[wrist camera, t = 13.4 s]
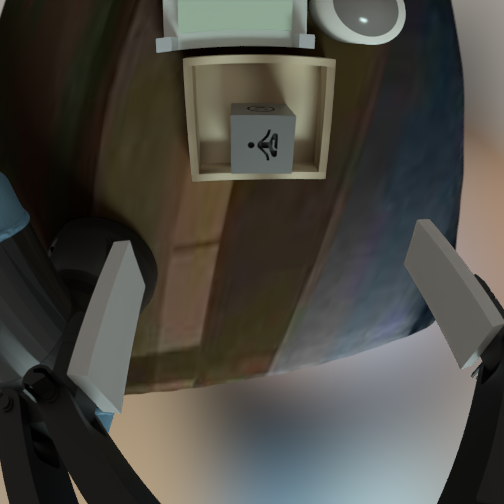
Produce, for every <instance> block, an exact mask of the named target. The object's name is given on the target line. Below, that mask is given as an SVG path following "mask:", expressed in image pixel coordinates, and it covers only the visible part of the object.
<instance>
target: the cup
mask: <svg viewBox="0 0 504 504" xmlns="http://www.w3.org/2000/svg"><path fill="white" fill-rule="evenodd" d="M309 10H310V14H311V17H312V19H313V21H314V23H315V24H316V26H317V27H318V28H319V29H320V30H321V31H322V32H323V33H324V34H326V35H327V36H329V37H330V38H332V39H334V40H337V41H340V42H345V43H358V44H369V45H377V44H382V43H386V42H388V41H390V40H392V39H393V38H395V37H396V36H397V35H398V34H399V32H400V31H401V29H402V27H403V25H404V22H405V5H404V2H403V0H309Z"/></svg>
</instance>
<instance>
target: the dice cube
mask: <svg viewBox="0 0 504 504" xmlns="http://www.w3.org/2000/svg"><path fill="white" fill-rule="evenodd" d="M295 126H296V115H295V114H294V113H293V112H292V110H291V109H290V108H289V107H288V106H287V104H272V103H231V174H292V165H293V153H294V140H295Z"/></svg>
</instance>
